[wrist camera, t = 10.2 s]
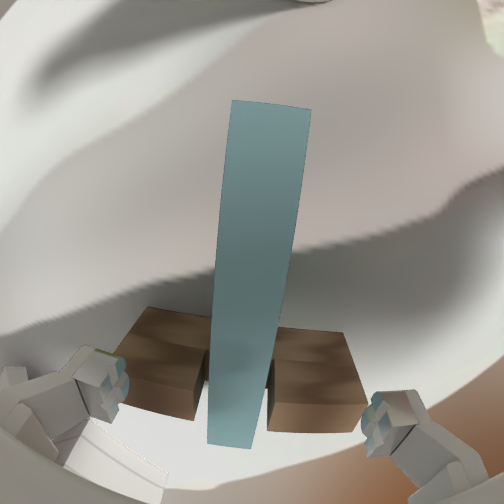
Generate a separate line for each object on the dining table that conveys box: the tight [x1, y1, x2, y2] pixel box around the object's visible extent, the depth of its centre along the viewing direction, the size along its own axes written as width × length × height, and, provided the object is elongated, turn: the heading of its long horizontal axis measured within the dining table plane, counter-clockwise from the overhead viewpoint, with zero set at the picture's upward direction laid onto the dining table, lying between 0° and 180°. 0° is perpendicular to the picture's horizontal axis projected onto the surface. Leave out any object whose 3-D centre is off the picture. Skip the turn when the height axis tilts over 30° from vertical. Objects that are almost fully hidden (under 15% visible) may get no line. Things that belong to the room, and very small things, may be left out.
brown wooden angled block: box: [113, 307, 368, 433], centre depth 19 cm, size 16×3×8 cm, turn 83°
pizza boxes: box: [0, 366, 169, 504], centre depth 22 cm, size 19×30×18 cm, turn 38°
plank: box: [207, 100, 311, 449], centre depth 17 cm, size 3×20×8 cm, turn 173°
